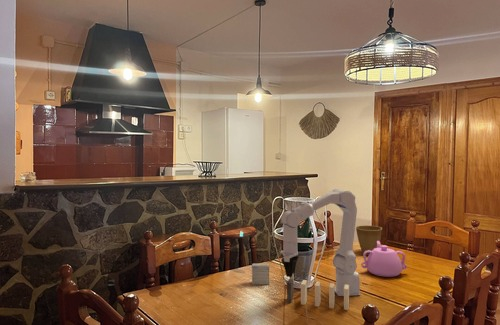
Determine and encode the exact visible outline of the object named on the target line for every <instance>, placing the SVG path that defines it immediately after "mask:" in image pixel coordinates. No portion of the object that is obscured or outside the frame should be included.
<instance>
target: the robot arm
mask: <svg viewBox="0 0 500 325" xmlns="http://www.w3.org/2000/svg"><path fill="white" fill-rule="evenodd" d="M330 204H334V205H336V206H337V207H339V209H340V210H341V211H342V212H343V213H342V222H341V230H340V231H341V233H340V238H339V239H340V240H339V246H338V248H337V250H335V254H334V256H333V258H332V265H333V266H334V268H335V293H336V295H337V296H339V297H344V286H345V285H349V297H352V296H361V292H360V289H361V287H360V283H361V281H360V275H359V273H358V271H356V270H357V267H358V264H357V256H356V254H355V252H354V251H353V250H354V249H353V248H354V241H355V240H354V239H355V231H356V221H357V214H358V208H357V204H356V196H355V194H353V193H352V192H351V190H350V191H349V190H344V189H343V190H341V189H336V188H335V189H332V190H330V191H328V192H326V193H325V194H323V195H322V196H321V197H319V198H317V199H315V200H314V201H312V202H311V203H308V202H301V203H300V205H299V206H297V207H295V208H294V207H293V208H291V211H290V210H287V211H285V212H283V213H282V215H281V217H280V221H281V224H282V225H283V228H282V230H283V231H282V233H283V235H282V236H283V238H282V240H283V243H282V245H283V246H282V248H283V250H281V251H280V255H282V256H283V258H281V263H282V264H283V268H284V270H285V276H286V277H288V278H292V277H293V274H295V270H296V266H297V263H298V262H297V261H298V260H299V257H300V255H299V252H298V226H299V225H300V223H301V222H303V221H304V220H306V219H308V218H310V217H312V216H314V213H315V211H317V210H319V209H321V208H323V207H325V206H328V205H330Z"/></svg>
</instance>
